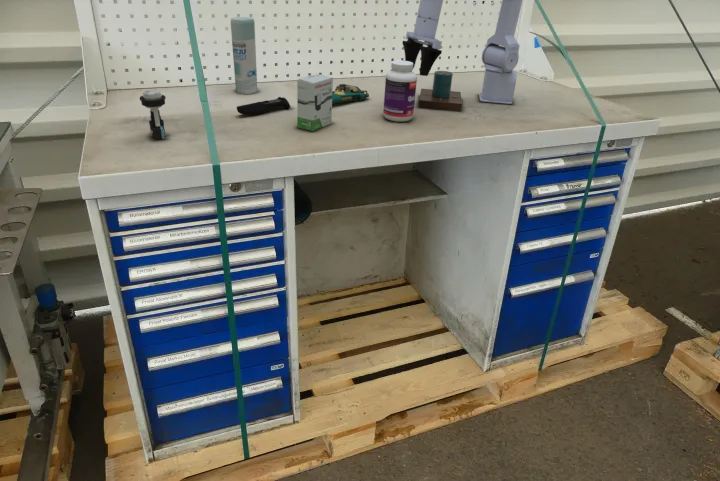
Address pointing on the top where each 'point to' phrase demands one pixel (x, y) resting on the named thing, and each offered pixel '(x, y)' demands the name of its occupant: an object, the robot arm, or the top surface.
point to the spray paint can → (244, 54)
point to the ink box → (314, 101)
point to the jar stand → (440, 101)
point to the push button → (154, 112)
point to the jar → (442, 84)
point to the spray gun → (348, 94)
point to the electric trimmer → (263, 106)
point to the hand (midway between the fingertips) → (416, 72)
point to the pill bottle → (400, 92)
